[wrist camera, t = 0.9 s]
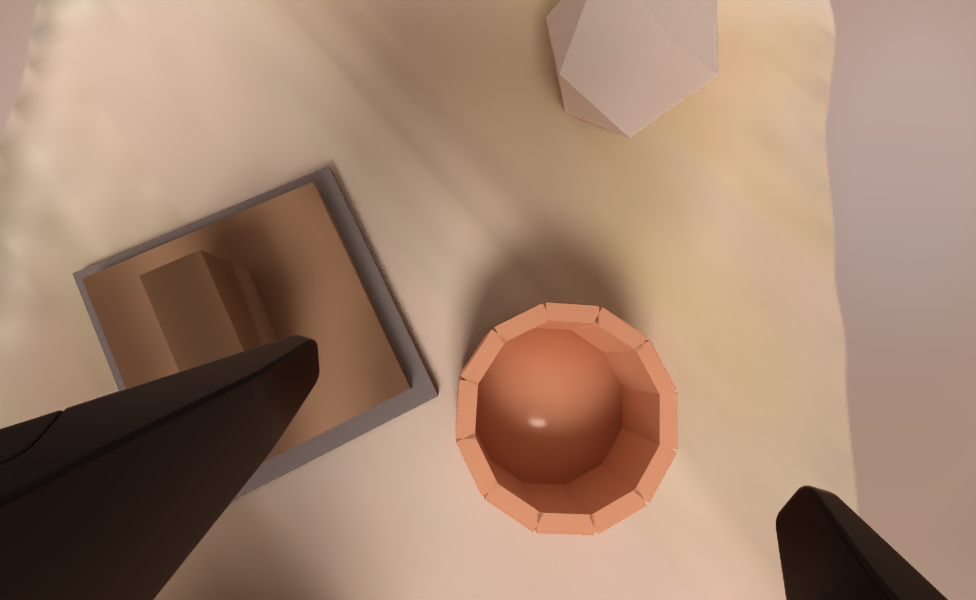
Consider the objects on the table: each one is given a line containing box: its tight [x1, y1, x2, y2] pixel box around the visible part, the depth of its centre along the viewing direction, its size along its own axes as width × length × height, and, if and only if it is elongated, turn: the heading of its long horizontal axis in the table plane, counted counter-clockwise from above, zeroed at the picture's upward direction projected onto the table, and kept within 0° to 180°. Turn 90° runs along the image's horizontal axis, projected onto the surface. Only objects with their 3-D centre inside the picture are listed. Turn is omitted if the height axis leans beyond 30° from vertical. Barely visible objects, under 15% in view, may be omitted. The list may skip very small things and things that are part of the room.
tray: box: [73, 167, 438, 500], centre depth 22 cm, size 14×14×1 cm
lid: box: [82, 182, 412, 462], centre depth 19 cm, size 12×12×5 cm
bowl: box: [456, 302, 678, 535], centre depth 20 cm, size 10×10×5 cm
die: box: [546, 0, 719, 138], centre depth 22 cm, size 8×9×10 cm
